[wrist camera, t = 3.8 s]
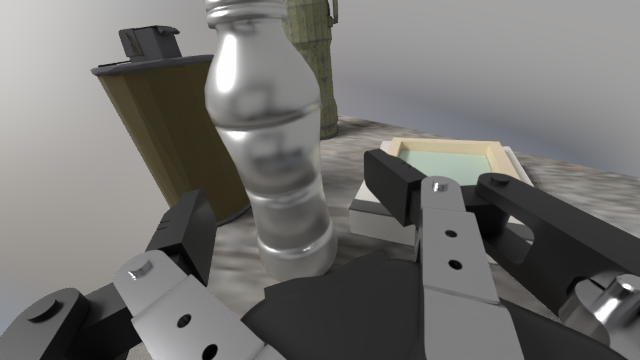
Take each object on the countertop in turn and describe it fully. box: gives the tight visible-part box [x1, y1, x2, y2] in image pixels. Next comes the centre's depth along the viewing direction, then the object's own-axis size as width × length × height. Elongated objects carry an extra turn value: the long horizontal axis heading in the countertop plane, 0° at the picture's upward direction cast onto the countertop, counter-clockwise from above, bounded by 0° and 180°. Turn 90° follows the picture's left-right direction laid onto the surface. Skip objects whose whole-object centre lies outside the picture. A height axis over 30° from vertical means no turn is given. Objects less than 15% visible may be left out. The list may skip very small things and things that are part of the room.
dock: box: [349, 138, 534, 264], centre depth 26 cm, size 18×16×4 cm
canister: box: [91, 25, 251, 226], centre depth 26 cm, size 11×10×20 cm
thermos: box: [282, 0, 338, 140], centre depth 42 cm, size 9×12×35 cm
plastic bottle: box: [204, 0, 338, 282], centre depth 16 cm, size 6×7×20 cm
